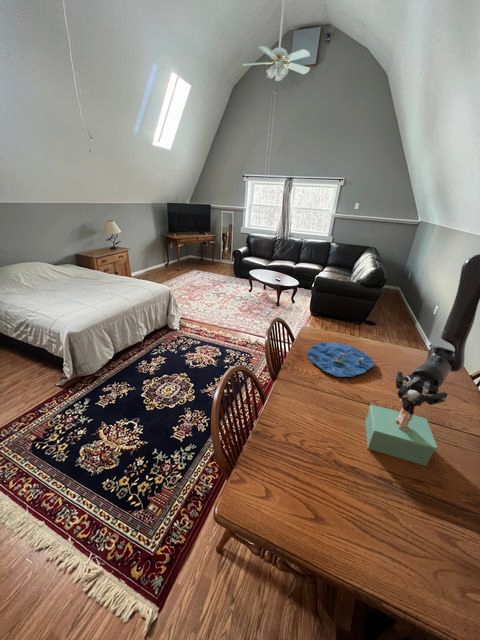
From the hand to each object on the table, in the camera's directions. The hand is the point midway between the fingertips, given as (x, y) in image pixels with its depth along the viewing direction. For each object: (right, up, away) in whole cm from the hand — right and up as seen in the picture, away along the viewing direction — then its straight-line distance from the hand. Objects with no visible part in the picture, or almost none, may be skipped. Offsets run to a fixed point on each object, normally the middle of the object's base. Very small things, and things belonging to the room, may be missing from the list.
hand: (407, 399), depth 74 cm
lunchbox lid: (+2, -10, +7) cm, 12 cm away
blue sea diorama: (-1, +3, +50) cm, 51 cm away
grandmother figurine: (+2, -9, +6) cm, 12 cm away
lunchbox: (+1, -16, +9) cm, 19 cm away
